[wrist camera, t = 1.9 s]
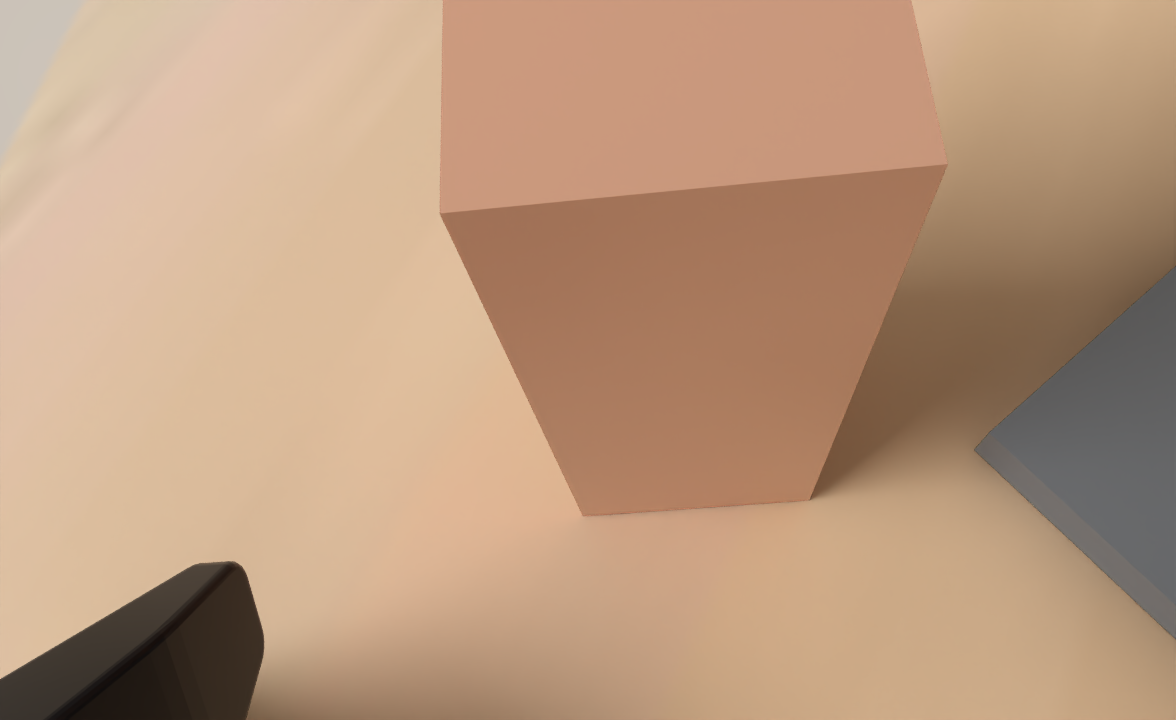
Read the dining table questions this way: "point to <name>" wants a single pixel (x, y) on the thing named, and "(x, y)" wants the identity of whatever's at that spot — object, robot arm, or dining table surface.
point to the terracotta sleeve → (686, 225)
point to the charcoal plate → (1108, 451)
